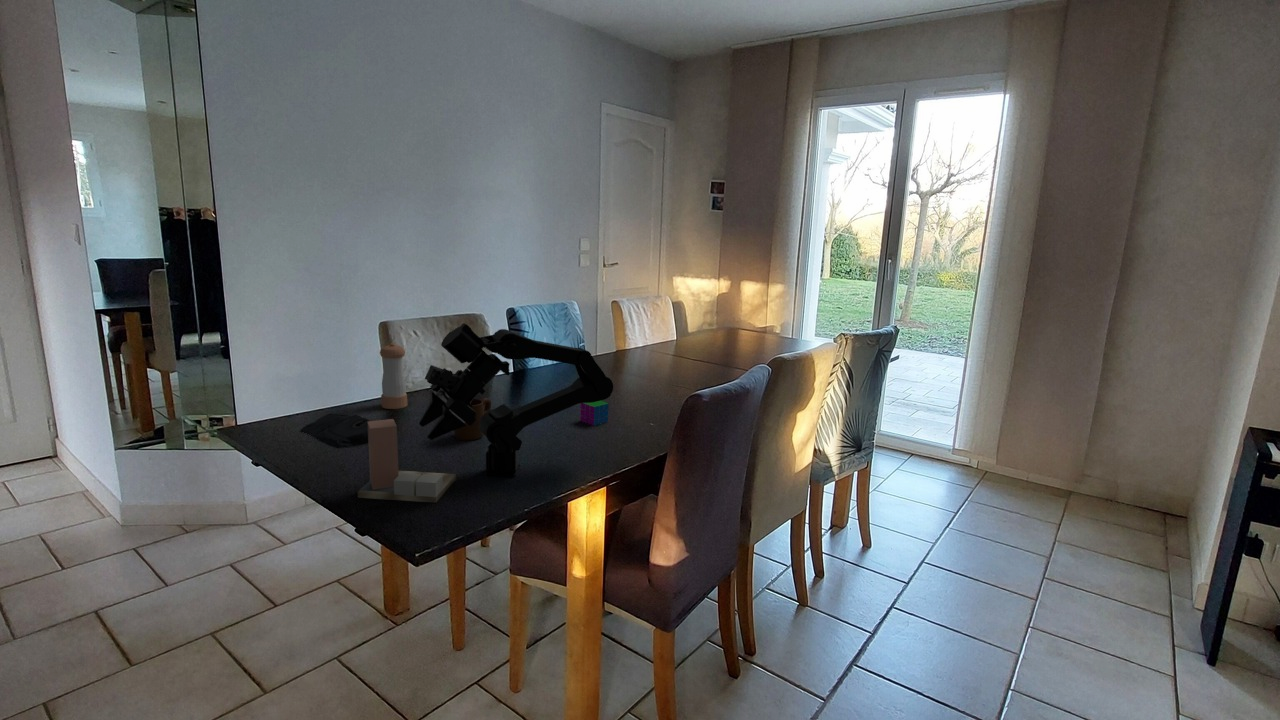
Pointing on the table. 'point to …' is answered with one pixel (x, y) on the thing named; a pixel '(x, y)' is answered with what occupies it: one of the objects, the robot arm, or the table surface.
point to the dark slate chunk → (339, 430)
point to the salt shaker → (393, 377)
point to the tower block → (383, 453)
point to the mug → (473, 430)
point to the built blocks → (418, 484)
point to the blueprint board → (389, 495)
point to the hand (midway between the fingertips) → (424, 431)
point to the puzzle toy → (594, 412)
